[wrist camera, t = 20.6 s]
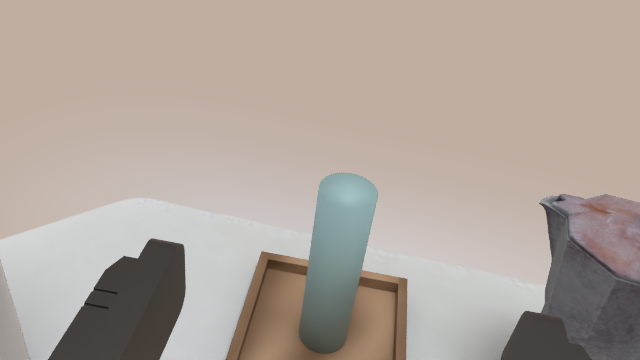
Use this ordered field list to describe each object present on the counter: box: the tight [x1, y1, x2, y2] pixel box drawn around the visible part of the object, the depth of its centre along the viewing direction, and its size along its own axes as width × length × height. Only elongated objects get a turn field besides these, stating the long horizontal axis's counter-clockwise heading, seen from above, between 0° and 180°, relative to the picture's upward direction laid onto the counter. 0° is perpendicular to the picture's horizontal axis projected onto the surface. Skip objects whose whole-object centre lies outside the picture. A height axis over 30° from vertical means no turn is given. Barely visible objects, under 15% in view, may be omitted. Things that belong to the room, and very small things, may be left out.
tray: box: [226, 252, 407, 360], centre depth 46 cm, size 14×14×2 cm
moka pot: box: [539, 194, 640, 360], centre depth 38 cm, size 10×15×20 cm, turn 52°
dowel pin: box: [299, 173, 378, 354], centre depth 42 cm, size 4×4×15 cm
